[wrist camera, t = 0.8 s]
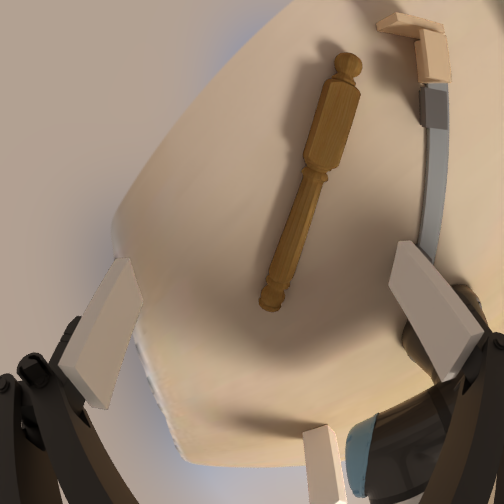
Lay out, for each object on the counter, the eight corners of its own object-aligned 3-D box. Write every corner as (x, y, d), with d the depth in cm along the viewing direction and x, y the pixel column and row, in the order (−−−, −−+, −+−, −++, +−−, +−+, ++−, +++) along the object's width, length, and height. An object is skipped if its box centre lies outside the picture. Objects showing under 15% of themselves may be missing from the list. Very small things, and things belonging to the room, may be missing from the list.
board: (427, 280, 35) (446, 305, 30) (374, 288, 36) (389, 316, 31) (439, 33, 20) (467, 27, 15) (375, 19, 21) (398, 5, 15)
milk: (311, 439, 56) (320, 521, 37) (301, 431, 54) (309, 520, 35) (336, 432, 55) (349, 515, 36) (327, 423, 53) (341, 514, 33)
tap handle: (257, 311, 34) (341, 45, 20) (256, 295, 37) (332, 51, 23) (281, 315, 34) (371, 58, 21) (279, 300, 37) (360, 62, 23)
